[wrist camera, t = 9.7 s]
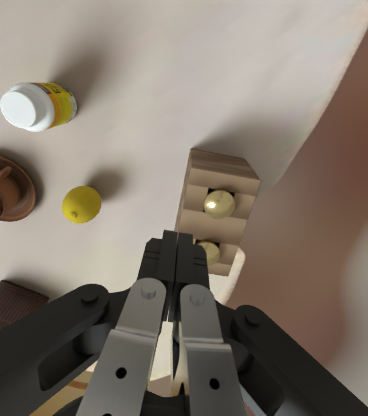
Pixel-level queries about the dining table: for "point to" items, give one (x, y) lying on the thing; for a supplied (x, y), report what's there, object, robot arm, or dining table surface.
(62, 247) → the dining table surface
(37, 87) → the supplement bottle
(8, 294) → the manual coffee grinder
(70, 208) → the lemon
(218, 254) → the far peg
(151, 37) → the dining table surface
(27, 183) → the cup and saucer
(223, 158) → the brown wooden block
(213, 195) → the near peg
